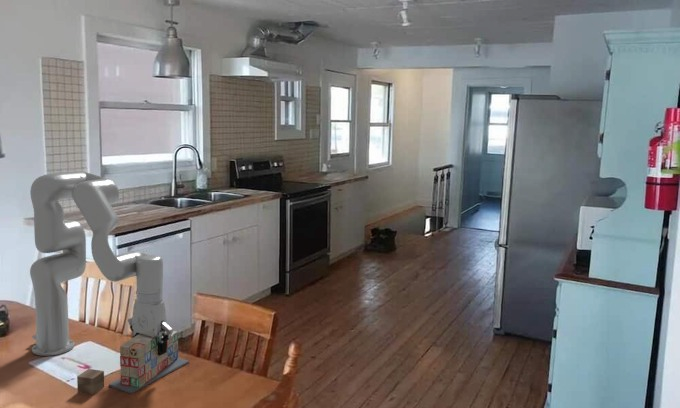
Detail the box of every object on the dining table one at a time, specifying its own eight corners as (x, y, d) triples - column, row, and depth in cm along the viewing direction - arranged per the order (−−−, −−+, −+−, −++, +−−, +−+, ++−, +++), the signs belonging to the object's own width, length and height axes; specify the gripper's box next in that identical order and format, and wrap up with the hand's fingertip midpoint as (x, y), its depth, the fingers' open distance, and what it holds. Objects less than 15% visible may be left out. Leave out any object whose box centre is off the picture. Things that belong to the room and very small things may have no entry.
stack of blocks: (161, 355, 180) (161, 320, 178) (178, 358, 178) (178, 322, 176) (120, 385, 159) (119, 345, 157) (139, 388, 158) (138, 347, 156)
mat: (108, 386, 160) (108, 384, 160) (168, 356, 181) (168, 354, 181) (131, 393, 156) (131, 391, 156) (189, 362, 177) (189, 360, 177)
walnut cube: (77, 393, 155) (77, 376, 155) (89, 384, 160) (88, 368, 159) (93, 395, 154) (92, 378, 154) (104, 387, 159) (103, 370, 158)
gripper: (119, 294, 165) (120, 348, 168) (162, 305, 158) (162, 361, 160) (138, 288, 172) (139, 340, 174) (180, 298, 164) (180, 352, 167)
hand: (150, 350), depth 167 cm, fingers open, 9 cm apart
